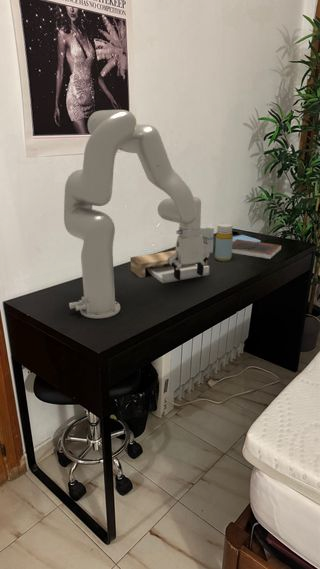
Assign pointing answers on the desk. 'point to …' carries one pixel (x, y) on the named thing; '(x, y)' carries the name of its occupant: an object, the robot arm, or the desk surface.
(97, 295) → the robot arm
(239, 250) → the book
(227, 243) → the bottle
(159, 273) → the white flat rectangular tray
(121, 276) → the desk surface
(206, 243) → the ink box
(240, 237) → the waterproof phone case
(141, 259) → the oak overhang
